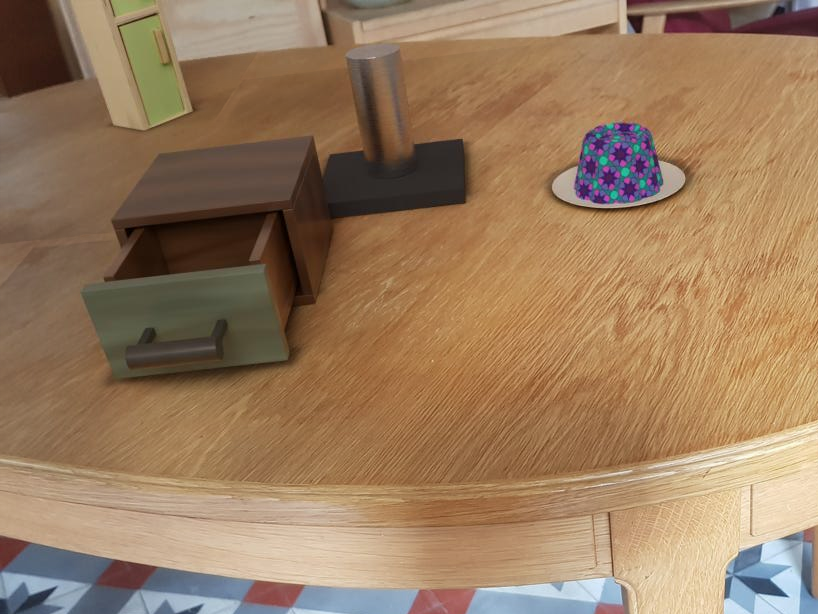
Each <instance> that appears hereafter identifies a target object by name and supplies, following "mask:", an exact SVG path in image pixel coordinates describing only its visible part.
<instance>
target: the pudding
mask: <svg viewBox="0 0 818 614" xmlns="http://www.w3.org/2000/svg"><path fill="white" fill-rule="evenodd" d="M685 182H686V175H685V173H684V171H683V170H682V169H681V168H679V167H678V166H676V165H674V164H673V163H669V162H666V161H663V160H659V158H658V154H657V149H656V146H655V142H654V137H653V134H652V132H651V131H650V130H649V129H648V128H647V127H645V126H643V125H642V124H639V123H636V122H629V123H628V122H627V123H626V122H612V123H609V124H602V125H601V124H600V125H597V126H595V127H594V128H593V129H591V130H589V131H587V132H586V133H585V135H584V137H583V139H582V143H581V149H580V154H579V159H578V164H577V166H574V167H571V168H569V169H567V170H565V171H563V172H562V173H560V174H559V175H557V177H556V178H555V179H554V180H553V182H552V184H551V190H552V192H553V194H554V195H555V196H557V198H559V199H560V200H563V202H567V203H570V204H572V205H576V206H581V207H588V208H597V209H621V208H629V207H637V206H641V205H645V204H649V203H653V202H656V201H660V200H662V199H665V198H667V197H669V196H671V195H673V194H675V193H676V192H678V191H679V190H680V189H681V188H682V187H683V186H684V184H685Z"/></svg>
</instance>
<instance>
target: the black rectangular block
mask: <svg viewBox="0 0 818 614" xmlns="http://www.w3.org/2000/svg"><path fill="white" fill-rule="evenodd" d="M414 145H415V152H416V158H417V165H418V166H417V169H416V170H415V171H413V172H412V173H410V174H407V175H405V176H401V177H397V178H391V179H377V178H373V177H370V176H369V175H368V174H367V169H366V164H365V158H364V153H363V149H362V150H353V151H346V152H338V153H330V154H329V156H328V159H327V162H326V165H325V168H324V172H323V174H322V178H323V183H324V188H325V192H326V197H327V202H328V206H329V211H330V215H331V219H337V218H338V219H339V218H349V217H357V216H364V215H373V214H374V215H375V214H382V213H390V212H398V211H408V210H416V209H425V208H433V207H434V208H435V207H443V206H451V205H461V204H466V202H467V201H466V200H467V197H466V195H467V194H466V167H465V165H466V164H465V147H464V139H463V138H454V139H445V140H438V141H428V142H420V143H414Z"/></svg>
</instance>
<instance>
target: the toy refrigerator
mask: <svg viewBox="0 0 818 614" xmlns="http://www.w3.org/2000/svg"><path fill="white" fill-rule="evenodd" d="M69 1H70V4H71V7H72V10H73V13H74V15H75V18H76V21H77V24H78V27H79V29H80V32H81V36H82V38H83V41H84V44H85V47H86V50H87V53H88V56H89V59H90V61H91V64H92V68H93V70H94V73H95V76H96V80H97V82H98V86H99V88H100V91H101V93H102V97H103V99H104V102H105V105H106V107H107V110H108V113H109V116H110V119H111V122H112V125H113V126H116V127H123V128H128V129H134V130H139V131H147V130H149V129H151V128H154V127H157V126H160V125H161V124H165V123H166V122H169V121H172V120H175V119H177V118H179V117H182V116H184V115H187V114H189V113H191V112H192V113H193V112H194V110H193V106H192V103H191V99H190V95H189V92H188V90H187V86H186V83H185V80H184V75H183V72H182V69H181V66H180V62H179V60H178V55H177V52H176V47H175V45H174V42H173V38H172V35H171V32H170V28H169V25H168V21H167V17H166V13H165V10H164V7H163V3H162V0H69Z"/></svg>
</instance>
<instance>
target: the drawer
mask: <svg viewBox="0 0 818 614" xmlns="http://www.w3.org/2000/svg"><path fill="white" fill-rule="evenodd" d="M102 279H103V281H102V282H101V281H100V282H93V283H86V284H84V285H83V287H82V289H81V290H80V295H81V298H82V300H83V303H84V305H85V307H86V310H87V312H88V315H89V318H90V321H91V322H92V325H93V327H94V330H95V333H96V334H97V337H98V340H99V342H100V345H101V347H102V349H103V352H104V354H105V357H106V359H107V362H108V364H109V367H110V370H111V372H112V374H113V377H114V379H115V380H119V379H128V378H136V377H146V376H155V375H165V374H173V373H174V374H175V373H183V372H191V371H200V370H210V369H219V368H227V367H228V368H229V367H237V366H246V365H255V364H265V363H275V362H283V361H288V360H289V356H290V352H291V351H290V348H289V343H288V340H287V336H286V333H285V330H286V326H287V323H288V319H289V315H290V312H291V309H292V306H291V305H292V302H293V299H294V295H295V292H296V288H297V285H298V281H299V275H298V271H297V267H296V263H295V259H294V255H293V251H292V247H291V243H290V239H289V235H288V231H287V227H286V223H285V219H284V215H283V210H277V211H268V212H260V213H251V214H243V215H234V216H226V217H217V218H209V219H200V220H191V221H183V222H174V223H166V224H157V225H149V226H140V227H136V228H135V229H134V231H133V232H132V234H131V235H130V237H129V238H128V240H127V241H126V243H125V244H124V246H123V247H122V249H121V248H120V250H119V251H118V254H116V256H115V258H114V259H113V261H112V263H111V264H110V265H109V267H108V269H107V270H106V272H105V273H104V274H103V276H102Z"/></svg>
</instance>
